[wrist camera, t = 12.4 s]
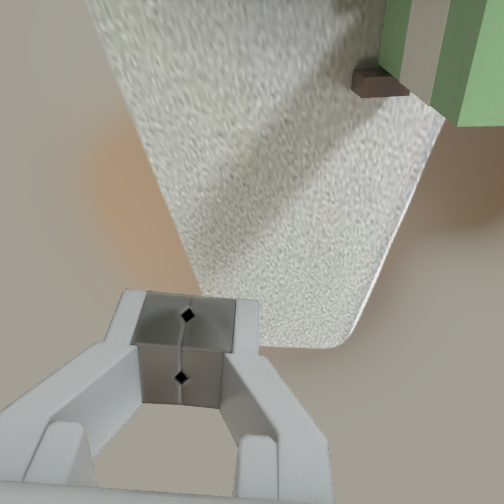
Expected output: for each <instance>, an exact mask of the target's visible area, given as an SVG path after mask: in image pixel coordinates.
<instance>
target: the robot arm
mask: <svg viewBox="0 0 504 504" xmlns="http://www.w3.org/2000/svg"><path fill="white" fill-rule="evenodd" d="M259 305H260V303H259V301H258V300H251V299H233V298H220V297H207V296H194V295H184V294H175V293H166V292H156V291H142V290H134V289H125V291H124V292H123V293H122V295H121V297H120V300H119V302H118V305H117V307H116V310H115V313H114V315H113V318H112V320H111V323H110V326H109V328H108V331H107V333H106V336H105V338H104V341H103V343H99V342H96V343H94V344H93V345H91V346H90V347H89V348H87V349H86V350H84V351H83V352H82V353H80V354H79V355H78V356H76V357H75V358H73V359H72V360H70V361H69V362H68V363H66V364H65V365H64V366H62V367H61V368H59V369H58V370H57V371H55V372H54V373H52V374H51V375H50V376H48V377H47V378H46V379H44V380H43V381H41V382H40V383H39V384H37V385H36V386H34V387H33V388H31V389H30V390H29V391H27V392H26V393H25V394H23V395H22V396H20V397H19V398H18V399H16V400H15V401H13V402H12V403H11V404H10V405H8V406H6V407H5V408H4V409H2V410H1V411H0V504H335V498H334V489H333V481H332V472H331V463H330V455H329V447H328V439H327V438H326V436H325V435H324V434H323V432H322V431H321V429H320V428H319V427H318V425H317V424H316V423H315V422H314V420H313V419H312V418H311V416H310V415H309V414H308V412H307V411H306V410H305V408H304V407H303V406H302V404H301V403H300V402H299V400H298V399H297V398H296V396H295V395H294V394H293V392H292V391H291V390H290V388H289V387H288V386H287V384H286V383H285V382H284V380H283V379H282V378H281V376H280V375H279V374H278V372H277V371H276V370H275V368H274V367H273V366H272V365H271V363H270V362H269V360H268V359H267V358H266V356H259ZM142 403H154V404H172V405H186V406H196V407H206V408H215V409H220V412H221V415H222V416H223V419H224V420H225V423H226V425H227V427H228V429H229V430H230V432H231V434H232V437H233V439H234V441H235V443H236V445H237V447H238V455H237V462H236V470H235V477H234V483H233V491H232V497H223V496H210V495H196V494H182V493H168V492H154V491H140V490H126V489H112V488H98V485H97V481H96V476H95V471H94V466H93V462H92V459H93V458H94V457H95V456H96V455H97V454H98V453H99V452H100V451H101V449H102V448H103V447H104V446H105V445H106V444H107V443H108V442H109V441H110V439H112V437H113V436H114V435H115V434H116V433H117V432H118V431H119V430H120V429H121V428H122V427H123V426H124V424H125V423H126V422H127V421H128V420H129V419H130V418H131V417H132V416H133V415H134V414H135V412H136V411H137V410H138V409H139V408H140V407H141V406H142Z"/></svg>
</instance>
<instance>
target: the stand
mask: <svg viewBox="0 0 504 504" xmlns="http://www.w3.org/2000/svg"><path fill="white" fill-rule="evenodd" d="M351 90H352V91H353V92H354V93H356V94H357V95H358V96H360V97H361V98H372V97H391V96H409V94H410V90H408V89H407V88H406V87H405V86H403V85H402V84H401V83H400V82H399V80H398V79H396V78H395V77H394V76H393V75H391V74H390V73H389V72H387V71H386V70H385V69H370V70H354V71H353V80H352V89H351Z"/></svg>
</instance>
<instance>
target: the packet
mask: <svg viewBox="0 0 504 504" xmlns="http://www.w3.org/2000/svg"><path fill="white" fill-rule="evenodd" d="M378 64H379V65H380V66H381V67H382V68H384V69H385V70H386V71H387V72H389V73H390V74H391V75H393V76H394V77H395V78H396V79H398V80H399V82H400V83H401V84H402V85H403V86H405V87H406V88H407V89H408V90H410V91H411V92H412V93H413V94H415V95H416V96H417V97H418V98H420V99H421V100H422V101H423V102H425V103H426V104H427V105H428V106H431V107H433V108H434V109H435V110H436V111H438V112H439V113H440V114H441V115H443V116H444V117H445V118H446V119H448V120H449V121H450V122H451V123H453V124H454V125H455V126H456V127H470V126H504V0H386V5H385V12H384V20H383V27H382V35H381V42H380V50H379V58H378Z"/></svg>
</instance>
